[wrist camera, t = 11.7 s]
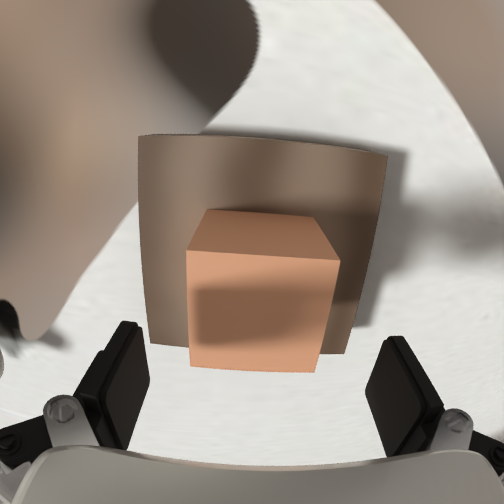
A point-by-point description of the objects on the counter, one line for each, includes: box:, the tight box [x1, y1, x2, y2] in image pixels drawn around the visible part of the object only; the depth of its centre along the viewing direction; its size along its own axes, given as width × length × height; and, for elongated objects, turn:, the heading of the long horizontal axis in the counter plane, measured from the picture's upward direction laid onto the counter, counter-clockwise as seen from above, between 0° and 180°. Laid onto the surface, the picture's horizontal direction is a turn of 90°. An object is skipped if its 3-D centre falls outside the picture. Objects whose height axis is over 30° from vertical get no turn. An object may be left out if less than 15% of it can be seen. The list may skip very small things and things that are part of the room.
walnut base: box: [138, 134, 388, 354], centre depth 20 cm, size 14×14×3 cm
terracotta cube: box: [186, 209, 340, 372], centre depth 16 cm, size 6×6×6 cm
